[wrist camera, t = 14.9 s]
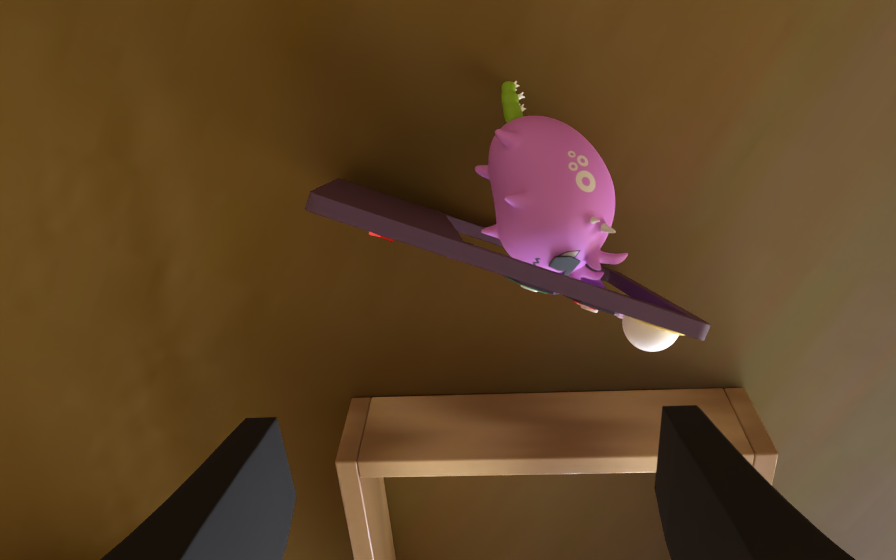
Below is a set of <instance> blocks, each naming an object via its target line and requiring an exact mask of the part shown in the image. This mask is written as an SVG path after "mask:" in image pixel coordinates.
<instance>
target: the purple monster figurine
mask: <svg viewBox="0 0 896 560" xmlns="http://www.w3.org/2000/svg"><path fill="white" fill-rule="evenodd" d="M516 83H517V80H516V81H515V82H511V81H506V82H504V83H503V84H502V86H501V91H502V97H501V101H502V105H503V110H504V111H503V115H504V119H505V122H506V124H505V125H504V126H503V127H501V128H500V129H497V130H495V136H494V138H493V140H492V142H491V145H490V150H489V159H488V165H478V166H476V167H475V171H476V172H477V173H478V174H479V175H480V176H482V177H485V178H487V179H489V180H490V183H491V188H492V193H493V199H494V205H495V212H496V224H495V225H493V226H490V227H487V228H486V227H483V226H480V225H477V224H474V223H471V222H468V221H465V220H462V219H459V218H456V217H453V216H450V215H447V214H444V213H441V212H438V211H435V210H432V209H429V208H426V207H423V206H420V205H417V204H414V203H411V202H408V201H405V200H402V199H399V198H396V197H393V196H390V195H388V194H385V193H382V192H379V191H376V190H373V189H370V188H367V187H364V186H361V185H358V184H355V183H352V182H349V181H346V180H343V179H339V178H337V179H335V180H333V181H331V182H329V183H327V184H325V185H323V186H320V187H318V188H316V189H314V190H312V191H310V194H309V197H308V200H307V204H306V207H305V209H306V210H307V211H310V212H312V213H315V214H318V215H321V216H324V217H327V218H330V219H333V220H336V221H339V222H342V223H345V224H348V225H351V226H355V227H358V228H361V229H364V230H367V231H369V235H373V236H377V237H381V238H384V239H386V240H388V241H391V242H393V239H394V240H397V241H400V242H403V243H406V244H409V245H412V246H415V247H419V248H422V249H425V250H428V251H431V252H434V253H437V254H440V255H443V256H446V257H448V258H451V259H455V260H458V261H461V262H464V263H467V264H470V265H473V266H476V267H479V268H483V269H486V270H489V271H492V272H495V273H498V274H501V275H503V276H505V277H506V278H507V279H509V280H511V281H513V282H515V283H518V284H520V285H521V287H522V288H525V289H527V290H530V291H534V292H537V291H539V292H542V293H545V294H547V293H548V294H551V295H555V294H562V295H564V296H566V297H568V298H570V299H572V301H573V302H575V303H577V304H578V305H580V306H581V308H583V309H585V310H588V311H591V312H594V313H597V312H598V310H600V311H603V312H606V313H609V314H612V315H615V316H617V317H618V318H621V319H623V321H622V325H623V330H624V333H625V335H626V337H627V339H628V340H629V341H630V342H631V343H632V344H633V345H634V346H635V347H637V348H639V349H641V350H644V351H649V352H656V351H661V350H664V349H666V348H668V347H669V346H671V345H672V344H673V343H674V342H675V341H676V339H677V338H678V336H679V335H683V336H684V335H687V336H690V337H693V338H696V339H699V340H703V341H704V340H705V338H706V335H707V333H708V330H709V328H710V326H711V324H709V323H707V322H706V321H704V320H702V319H700V318H699V317H697V316H695V315H693V314H692V313H690V312H688V311H686V310H685V309H683V308H681V307H679V306H678V305H676V304H674V303H672V302H670V301H669V300H667V299H665V298H663V297H662V296H660V295H658V294H656V293H655V292H653V291H651V290H649V289H648V288H646V287H644V286H642V285H641V284H639V283H637V282H635V281H634V280H632V279H630V278H628V277H626V276H625V275H623V274H621V273H619V272H616V271H614V270H611V269H608V268H605V267H602V266H601V265H600V263H604V264H619V263H621V262H622V261H624V260H625V259H626V257H627V255H628V253H619V254H613V253H606V252H603V251H601V250H600V248H601V247H602V245H603V243H604V242H605V240H606V238H607V236H608V234H609V233H616V231H615V230H614V229H612V228H611V225H612V222H613V218H614V213H615V191H614V186H613V182H612V179H611V176H610V174H609V171H608V169H607V167H606V165H605V163H604V162H603V160H602V158H601V157H600V155H599V154H598V152H597V151H596V150H595V148H594V147H593V146H592V145H591V144H590V143H589V141H588V140H587V139H586V138H585V137H583V136H582V135H581V134H580V133H579V132H578V131H576V130H575V129H574V128H572V127H571V126H569V125H567V124H565V123H563V122H561V121H559V120H556V119H553V118H550V117H545V116H536V115H532V116H523V113H522V112H523V111H524V110H525V109H526V108H523V106H524V104H523V105H521V104H519V100H520V99H522V98H525V96H522V95H523V93H524V92H522V93H520V94H516V92H515V91H517V89H516V87H518V86H520V85H517V84H516ZM520 105H521V106H520ZM458 232H460V233H463V234H466V235H469V236H472V237H475V238H478V239H481V240H484V241H487V242H490V243H493V244H496V245H499V246H502V247H504V249H505V250H506V252H507V253H508V254H509V255H510V256H511V257H509V256H506V255H503V254H500V253H497V252H494V251H491V250H488V249H485V248H482V247H479V246H476V245H473V244H470V243H467V242H465V241H463V240H462V238H461V237H460V235H459V234H458ZM568 275H569V276H570V277H569V276H568ZM600 279H601V280H604V281H606V282H609V283H610V284H612V285H613V286H615V287H616V288H618V289H620V290H621V291H623V292H624V293H626V294H627V295H629V296H630V297H629V296H626V295H623V294H620V293H617V292H614V291H611V290H608V289H606V288H605V287H604V285H603V283H602V282H601V280H600Z"/></svg>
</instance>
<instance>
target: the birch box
mask: <svg viewBox="0 0 896 560" xmlns="http://www.w3.org/2000/svg"><path fill="white" fill-rule="evenodd" d="M683 405H697V406H698V407H699V408H700V409H701V410H702V411H703V412H704V413H705V414H706V415H707V416H708V417H709V419H710V420H711V421H712V422H713V423H714V424H715V425H716V427H717V428H718V429H719V430H720V431H721V432H722V433H723V434H724V436H725V437H726V438H727V439H728V440H729V441H730V442H731V443H732V444H733V445H734V447H735V448H736V449H737V450H738V451H739V452H740V453H741V454H742V455H743V456H744V457H745V458H746V459H747V461H748V462H749V463H750V464H751V465H752V466H753V467H754V468H755V469H756V470H757V471H758V472H759V473H760V474H761V475H762V476H763V477H764V478H765V479H766V480H767V481H768V482H769V483H770V484H771V485H772V482H773V477H774V473H775V468H776V463H777V458H778V452H777V450H776V448H775V446H774V444H773V442H772V440H771V439H770V437H769V435H768V433H767V431H766V429H765V427H764V425H763V423H762V421H761V419H760V417H759V415H758V414H757V412H756V410H755V408H754V406H753V404H752V402H751V400H750V398H749V396H748V394H747V392H746V391H745V389H744V388H725V389H724V390H723V388H708V389H670V390H631V391H593V392H554V393H516V394H477V395H439V396H400V397H372V398H370V397H363V398H352V399H351V403H350V407H349V411H348V415H347V418H346V422H345V426H344V430H343V434H342V437H341V441H340V445H339V449H338V453H337V456H336V460H335V465H336V470H337V475H338V480H339V485H340V490H341V495H342V501H343V506H344V511H345V516H346V521H347V526H348V531H349V536H350V541H351V546H352V551H353V556H354V560H396V556H395V550H394V543H393V537H392V530H391V524H390V517H389V511H388V505H387V498H386V492H385V485H384V479H383V477H421V476H478V475H536V474H594V473H652V472H656V469H657V458H658V448H659V437H660V426H661V416H662V406H683Z"/></svg>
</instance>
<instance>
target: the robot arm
mask: <svg viewBox="0 0 896 560" xmlns="http://www.w3.org/2000/svg"><path fill="white" fill-rule="evenodd" d="M655 492H656V497H657V502H658V508H659V513H660V517H661V522H662V527H663V531H664V536H665V540H666V544H667V547H668V550H669V553H670V556H671V559H672V560H855V559H854V558H852V557H851V556H850V555H849V554H847V553H846V552H845V551H844V550H842V549H841V548H840V547H839V546H837V545H836V544H835V543H834V542H832V541H831V540H830V539H829V538H828V537H827V536H826V535H824V534H823V533H822V532H821V531H820V530H819V529H817V528H816V527H815V526H814V525H813V524H812V523H811V522H810V521H809V520H808V519H806V518H805V517H804V516H803V515H802V514H801V513H800V512H799V511H798V510H797V509H796V508H794V507H793V506H792V505H791V504H790V503H789V502H788V501H787V500H786V499H785V498H784V497H783V496H782V495H781V494H780V493H779V492H778V491H777V490H776V489H775V488H774V487H773V486H772V485H771V484H770V483H769V482H768V481H767V480H766V479H765V478H764V477H763V476H762V475H761V474H760V473H759V472H758V471H757V470H756V469H755V468H754V467H753V466H752V465H751V464H750V463H749V462H748V461H747V459H746V458H745V457H744V456H743V455H742V454H741V453H740V452H739V451H738V450H737V449H736V448H735V447H734V445H733V444H732V443H731V442H730V441H729V440H728V439H727V438H726V437H725V436H724V434H723V433H722V432H721V431H720V430H719V429H718V428H717V427H716V425H715V424H714V423H713V422H712V421H711V420H710V419H709V417H708V416H707V415H706V414H705V413H704V412H703V411H702V410H701V409H700V408H699V407H698V406H697V405H683V406H662V416H661V426H660V437H659V448H658V458H657V469H656V480H655ZM295 500H296V492H295V488H294V484H293V480H292V476H291V472H290V468H289V464H288V460H287V456H286V452H285V448H284V443H283V439H282V435H281V431H280V427H279V423H278V419H277V417H268V418H246V419H245V420H244V421H243V422H242V423H241V424H240V425H239V426H238V427H237V428H236V429H235V430H234V431H233V432H232V433H231V434H230V435H229V436H228V437H227V438H226V439H225V440H224V441H223V443H222V444H221V445H220V446H219V447H218V448H217V449H216V450H215V451H214V452H213V453H212V454H211V455H210V456H209V457H208V458H207V459H206V460H205V462H204V463H203V464H202V465H201V466H200V467H199V468H198V469H197V470H196V471H195V472H194V473H193V474H192V475H191V476H190V477H189V478H188V479H187V480H186V481H185V482H184V483H183V484H182V485H181V486H180V487H179V488H178V489H177V490H176V491H175V492H174V493H173V494H172V495H171V496H170V497H169V498H168V499H167V500H166V501H165V502H164V503H163V504H162V505H161V506H160V507H159V508H158V509H157V510H156V511H154V512H153V513H152V514H151V515H150V516H149V517H148V518H147V519H146V520H145V521H144V522H143V523H142V524H141V525H139V526H138V527H137V528H136V529H135V530H134V531H133V532H132V533H131V534H130V535H129V536H128V537H126V538H125V539H124V540H123V541H122V542H121V543H120V544H118V545H117V546H116V547H115V548H114V549H112V550H111V551H110V552H109V553H108V554H106V555H105V556H104V557H103V558H101V559H100V560H282V559H283V555H284V552H285V549H286V546H287V541H288V536H289V531H290V527H291V522H292V516H293V511H294V505H295Z"/></svg>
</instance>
